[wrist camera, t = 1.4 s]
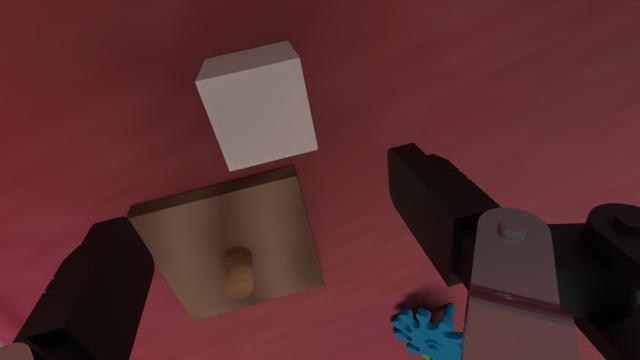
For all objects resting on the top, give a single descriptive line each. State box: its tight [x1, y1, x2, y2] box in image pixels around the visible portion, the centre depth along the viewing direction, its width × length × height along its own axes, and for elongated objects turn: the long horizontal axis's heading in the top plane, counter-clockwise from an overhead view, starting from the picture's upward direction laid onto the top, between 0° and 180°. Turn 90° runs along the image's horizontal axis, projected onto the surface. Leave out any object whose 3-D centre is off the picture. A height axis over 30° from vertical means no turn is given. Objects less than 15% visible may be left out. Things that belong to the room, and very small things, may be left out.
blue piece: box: [392, 304, 463, 360], centre depth 36 cm, size 11×6×10 cm
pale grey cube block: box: [195, 41, 318, 171], centre depth 19 cm, size 5×5×5 cm
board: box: [126, 166, 324, 321], centre depth 25 cm, size 12×12×5 cm
